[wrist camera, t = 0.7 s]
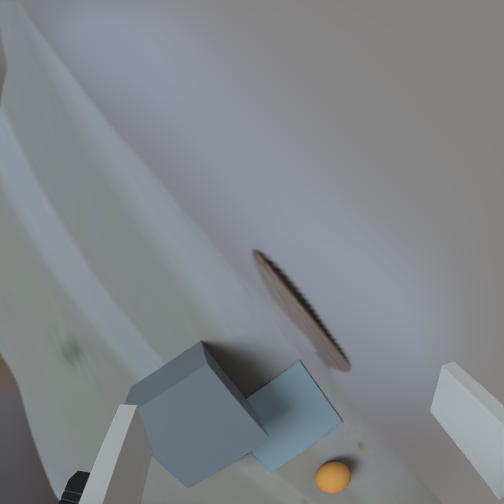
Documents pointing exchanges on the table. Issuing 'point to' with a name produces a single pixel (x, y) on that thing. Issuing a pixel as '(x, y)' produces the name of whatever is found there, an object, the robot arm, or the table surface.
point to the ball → (333, 477)
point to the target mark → (291, 416)
